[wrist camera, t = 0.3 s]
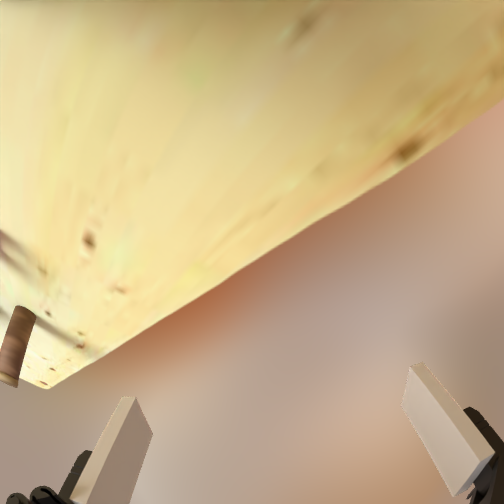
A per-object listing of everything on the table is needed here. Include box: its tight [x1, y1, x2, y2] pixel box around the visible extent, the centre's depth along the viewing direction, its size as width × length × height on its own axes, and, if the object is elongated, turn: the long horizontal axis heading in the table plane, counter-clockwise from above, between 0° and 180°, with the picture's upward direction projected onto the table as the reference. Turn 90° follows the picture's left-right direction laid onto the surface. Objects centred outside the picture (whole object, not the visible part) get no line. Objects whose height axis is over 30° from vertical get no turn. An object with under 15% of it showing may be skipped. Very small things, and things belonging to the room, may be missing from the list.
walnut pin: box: [0, 306, 36, 388], centre depth 32 cm, size 5×5×13 cm
